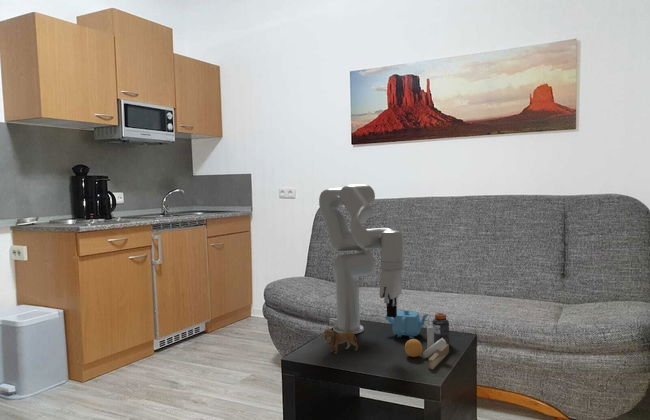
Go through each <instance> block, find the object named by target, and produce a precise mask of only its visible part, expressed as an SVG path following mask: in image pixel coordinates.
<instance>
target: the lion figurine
mask: <svg viewBox="0 0 650 420" xmlns="http://www.w3.org/2000/svg"><path fill="white" fill-rule="evenodd" d="M322 337H323V341H324V342H325V344H327V345H328V346H330V350H329V352H330V353H333V354H334V355H337V354H338V347H339V345H341V344H344V343H347V345H346V346H345V347H344V350H348V349H349V348H350V346H351V345H352V346H354V347H355V348H354V350H353V351H354V352H355V351H358V349H359V347H360V345H359V344H358V342H357V341H358V339H357V337H356V334H353V333H352V332H345V333H342V334H339V333H337V332H336V331H333V329H331V328H327V329H324V331H323V334H322Z"/></svg>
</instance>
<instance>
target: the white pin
mask: <svg viewBox="0 0 650 420" xmlns="http://www.w3.org/2000/svg"><path fill="white" fill-rule="evenodd" d="M444 345H446V341H445V340H444V339H443V338H441V339H440V340H438V341H437V342H436V343H434V344H433V345H432V346H430V347H429V348H428V349H427V348H426V349H425V350H424V351H422V356H423V357H424V358H426V359H429V358H430V357H432V356H433V355H434V354H435V353H436V352H437V351H438V350H439V349H440V348H442V347H443V346H444Z"/></svg>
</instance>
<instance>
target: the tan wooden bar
mask: <svg viewBox="0 0 650 420" xmlns="http://www.w3.org/2000/svg"><path fill="white" fill-rule="evenodd" d="M449 353H450V343H449V344H446V345H444V346H443V347H442V348H440V349H439V350H438V351H436V352H435V353H434V354H432V355H431V356H429V357H428V358H427V359H428V361H427V362H428V370H434V369H435V368H436V367H437V366H438V365H439V364H440V363H441V362H442V361H443V360H444V359H445V357H446V356H447V355H448V354H449Z"/></svg>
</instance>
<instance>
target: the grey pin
mask: <svg viewBox="0 0 650 420" xmlns="http://www.w3.org/2000/svg"><path fill="white" fill-rule="evenodd" d="M426 338H427V339H426V340H427V341H426V344H427V347H426V349H428V348H429V347H430V346H432V345H433V344H434V327H433V325H432V326H431V325H427V327H426Z"/></svg>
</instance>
